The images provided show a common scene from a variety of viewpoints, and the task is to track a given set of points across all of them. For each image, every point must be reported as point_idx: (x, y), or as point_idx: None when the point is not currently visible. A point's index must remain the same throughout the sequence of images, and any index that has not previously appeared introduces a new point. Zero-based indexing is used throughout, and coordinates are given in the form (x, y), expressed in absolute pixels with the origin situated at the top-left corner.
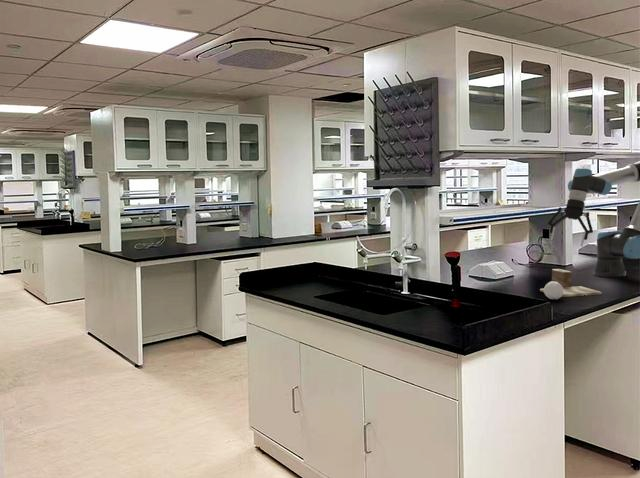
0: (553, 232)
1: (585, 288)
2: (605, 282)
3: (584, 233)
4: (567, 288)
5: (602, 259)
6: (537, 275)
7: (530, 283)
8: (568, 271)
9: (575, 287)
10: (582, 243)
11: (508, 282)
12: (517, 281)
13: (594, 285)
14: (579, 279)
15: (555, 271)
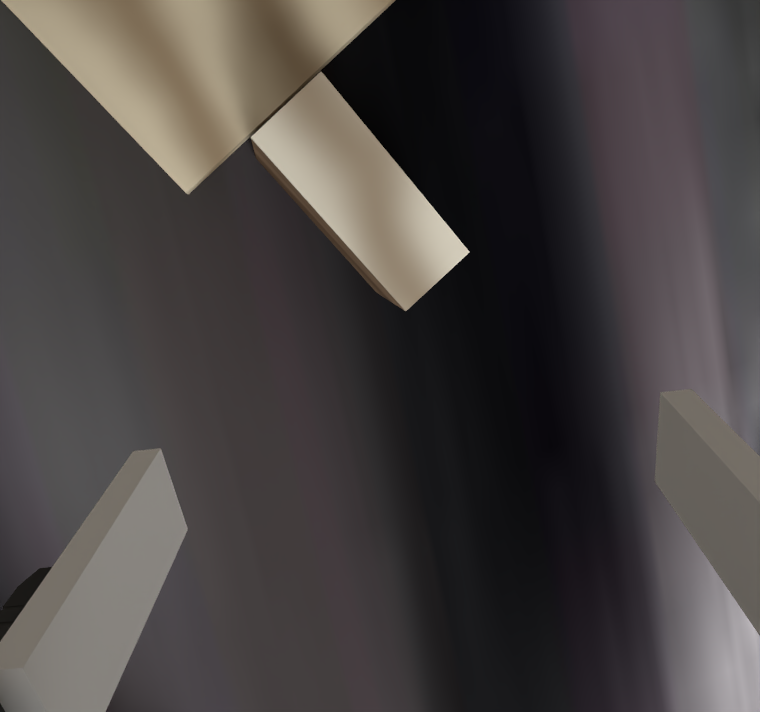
0: (752, 483)
1: (115, 80)
2: None
3: (14, 650)
4: (258, 25)
5: None
6: (603, 642)
7: (591, 282)
8: (281, 142)
9: (208, 104)
10: (121, 480)
11: (741, 266)
12: (690, 335)
13: (122, 378)
14: (297, 601)
15: (421, 198)
